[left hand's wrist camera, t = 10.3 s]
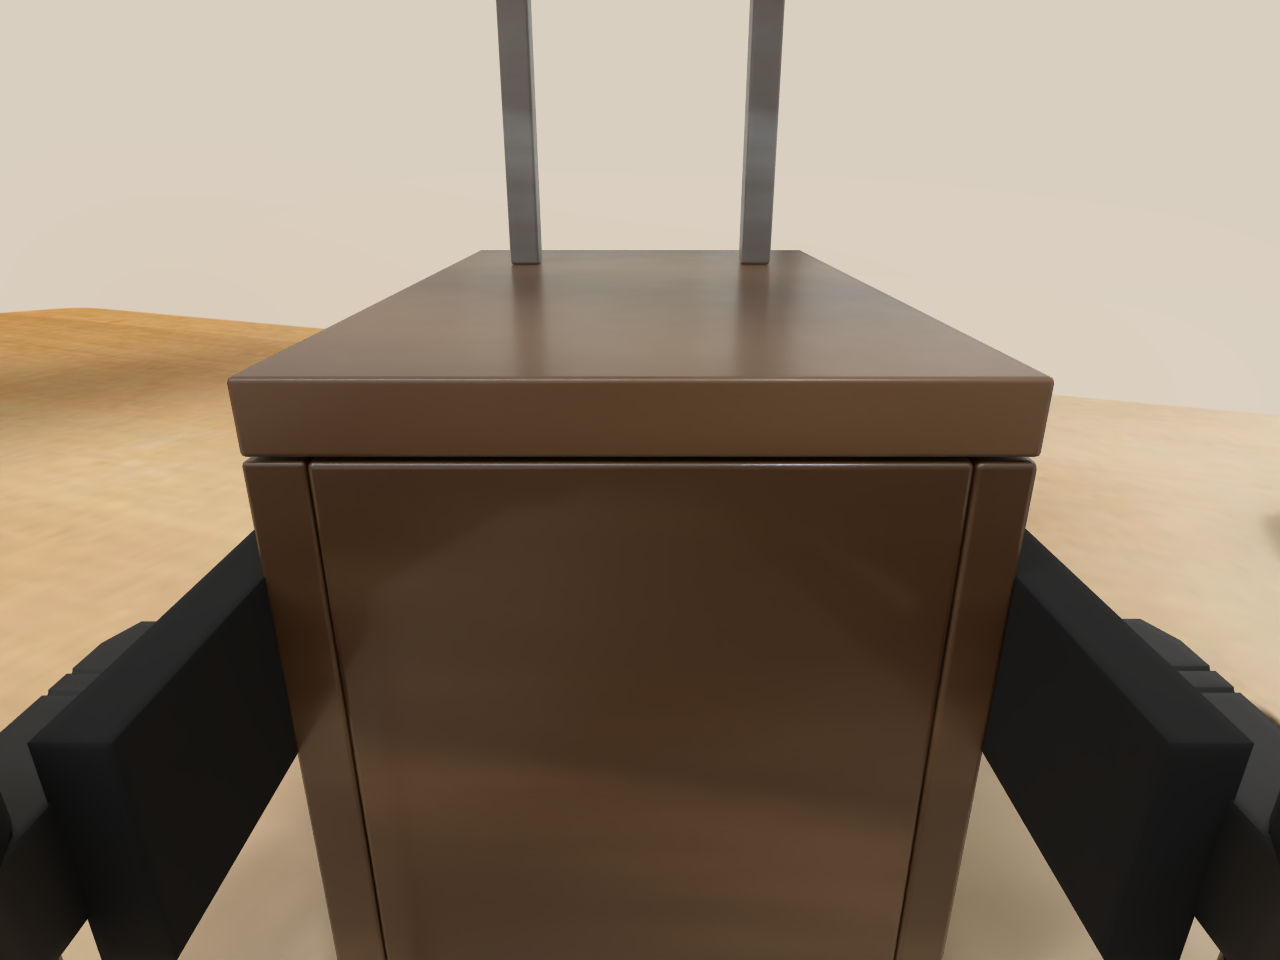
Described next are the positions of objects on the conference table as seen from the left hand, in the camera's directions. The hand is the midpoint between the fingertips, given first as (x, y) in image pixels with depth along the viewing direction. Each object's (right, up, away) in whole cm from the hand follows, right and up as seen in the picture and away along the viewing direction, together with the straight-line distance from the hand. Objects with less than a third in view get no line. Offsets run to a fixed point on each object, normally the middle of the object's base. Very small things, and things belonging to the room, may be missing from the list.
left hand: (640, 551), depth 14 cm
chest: (0, -5, +6) cm, 8 cm away
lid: (0, +4, +3) cm, 5 cm away
